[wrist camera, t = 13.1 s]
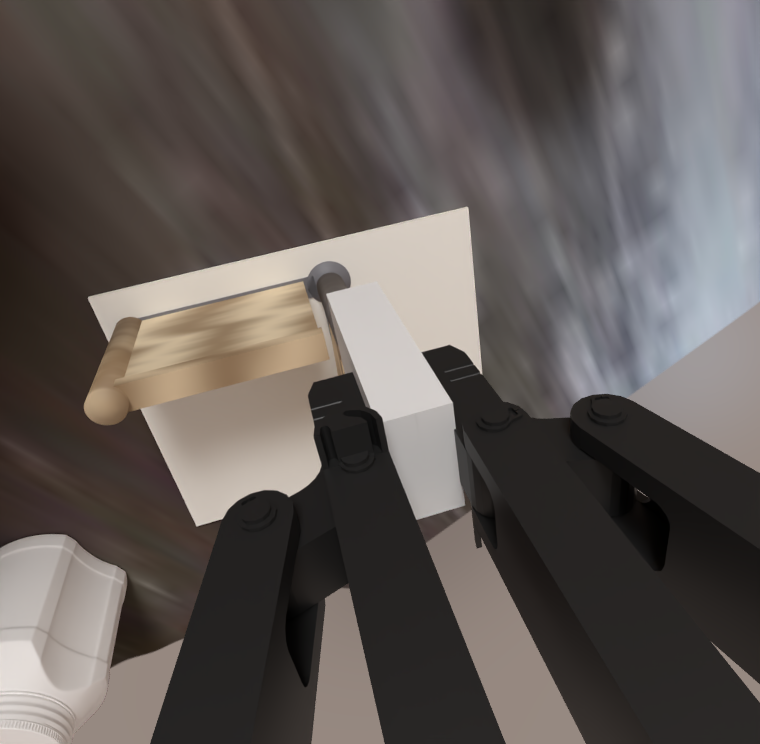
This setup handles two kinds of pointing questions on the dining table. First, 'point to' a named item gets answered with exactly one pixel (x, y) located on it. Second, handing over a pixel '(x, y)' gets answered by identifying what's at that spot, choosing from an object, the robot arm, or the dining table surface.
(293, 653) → the robot arm
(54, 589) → the jar
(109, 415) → the fixed fence section
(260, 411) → the card
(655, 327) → the dining table surface
